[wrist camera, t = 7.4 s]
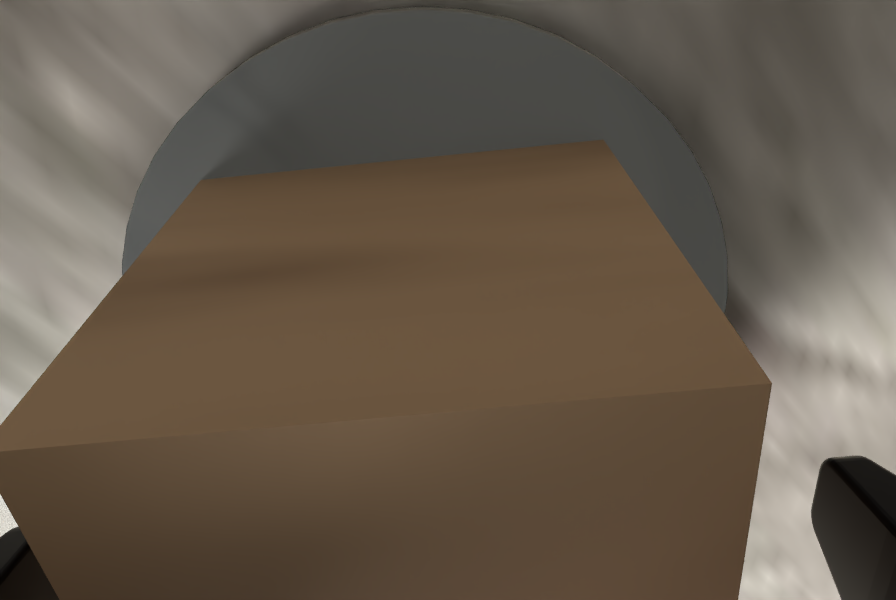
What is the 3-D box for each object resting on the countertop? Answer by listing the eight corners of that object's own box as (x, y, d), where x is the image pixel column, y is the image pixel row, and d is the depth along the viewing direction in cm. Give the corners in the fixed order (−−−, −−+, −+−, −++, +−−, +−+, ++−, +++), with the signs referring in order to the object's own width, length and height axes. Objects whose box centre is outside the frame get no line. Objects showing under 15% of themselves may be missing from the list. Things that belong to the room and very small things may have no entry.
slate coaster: (554, 563, 16) (559, 586, 15) (92, 434, 14) (79, 456, 13) (837, 159, 11) (857, 172, 11) (211, -120, 9) (198, -120, 9)
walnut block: (599, 450, 13) (705, 802, 8) (285, 476, 14) (193, 838, 8) (602, 139, 10) (771, 382, 5) (200, 179, 11) (-23, 453, 5)
